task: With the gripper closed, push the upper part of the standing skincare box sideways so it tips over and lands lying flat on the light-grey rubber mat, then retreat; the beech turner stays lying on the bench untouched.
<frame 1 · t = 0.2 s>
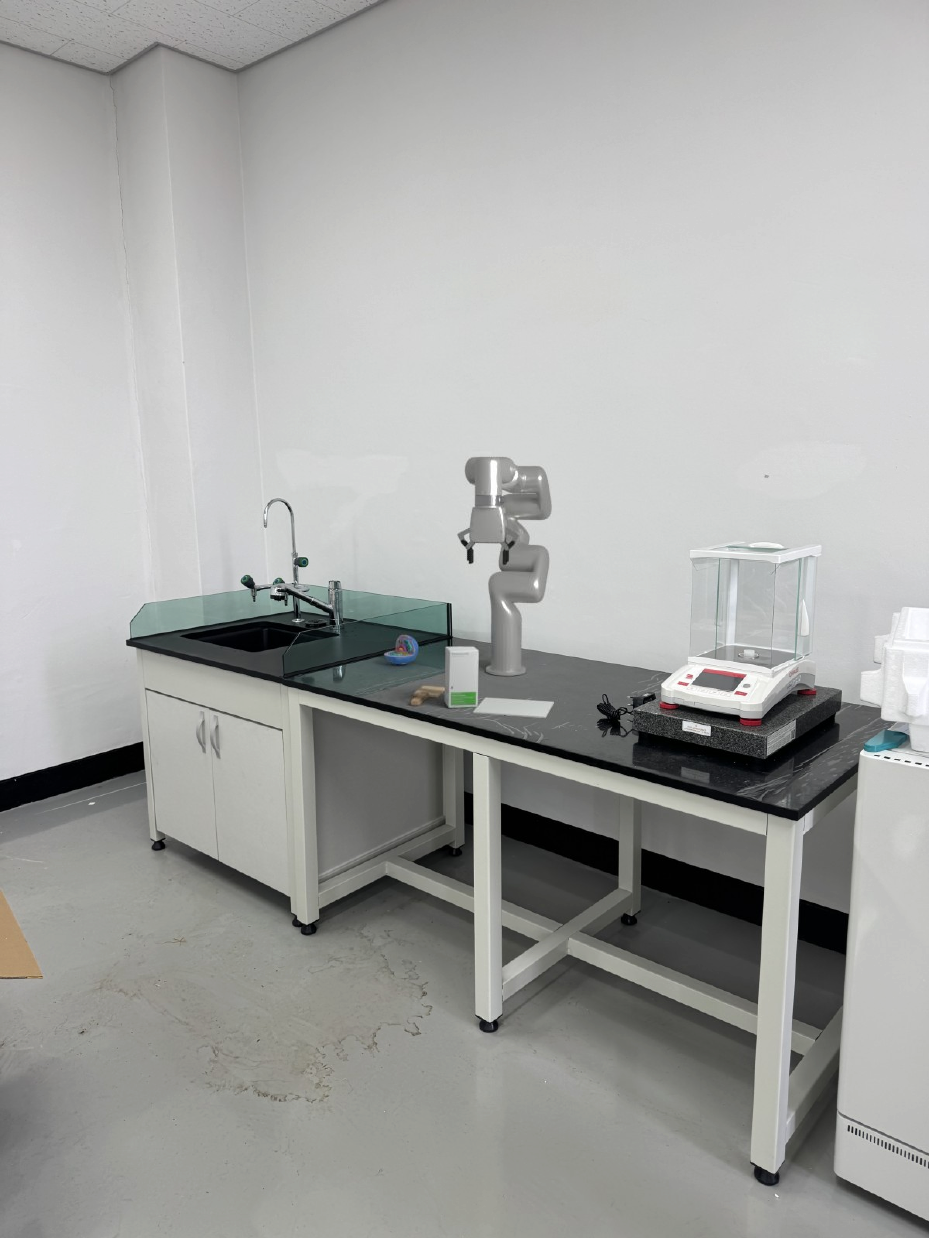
hand: (487, 564, 243), 37 cm above the table, tool pointing down, fingers open, 9 cm apart
cell model: (401, 665, 283), on the table
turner: (426, 695, 244), on the table
skincare box: (461, 705, 235), on the table
mat: (514, 708, 231), on the table
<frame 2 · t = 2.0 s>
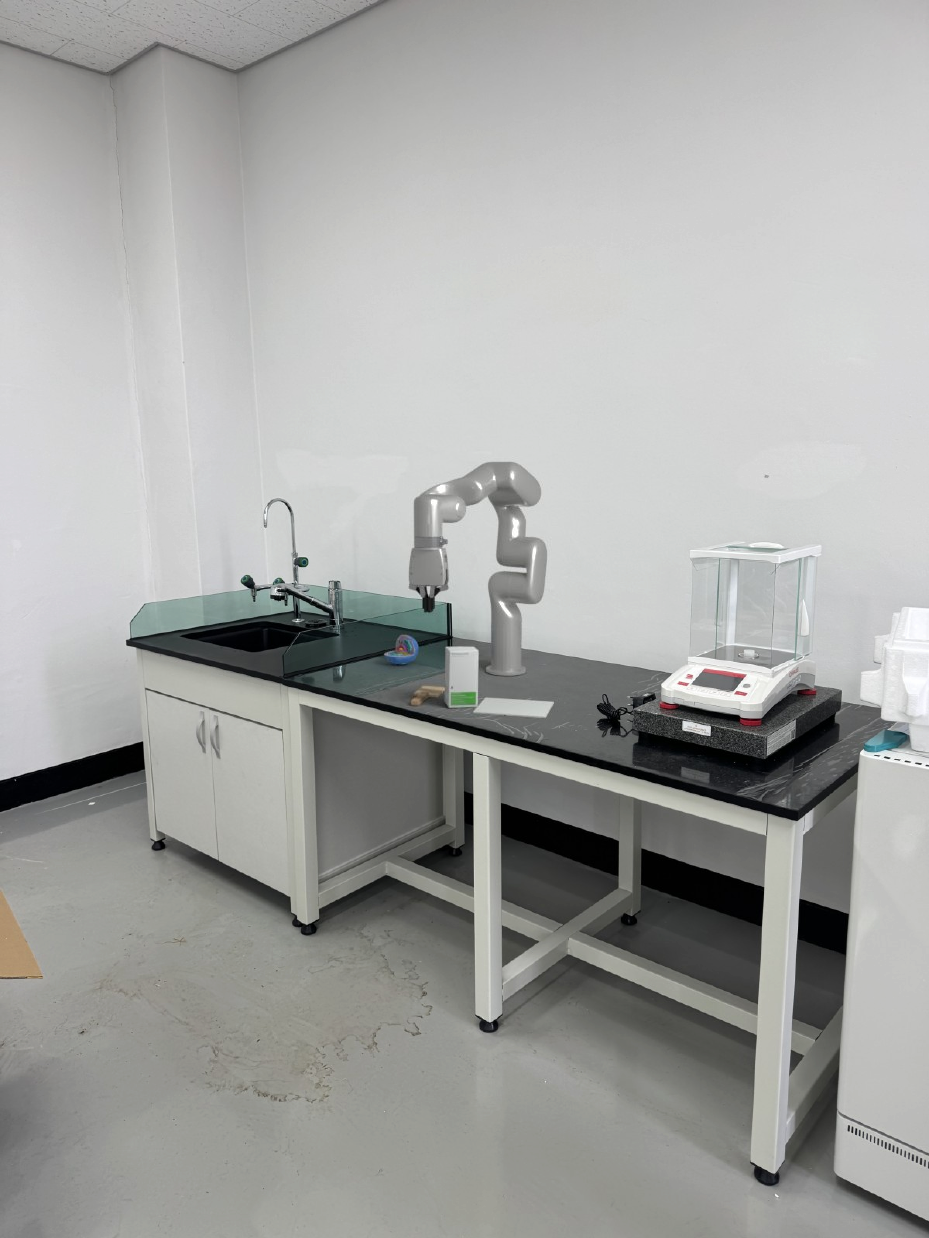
hand: (428, 611, 232), 25 cm above the table, tool pointing down, fingers closed
nothing on the table moved.
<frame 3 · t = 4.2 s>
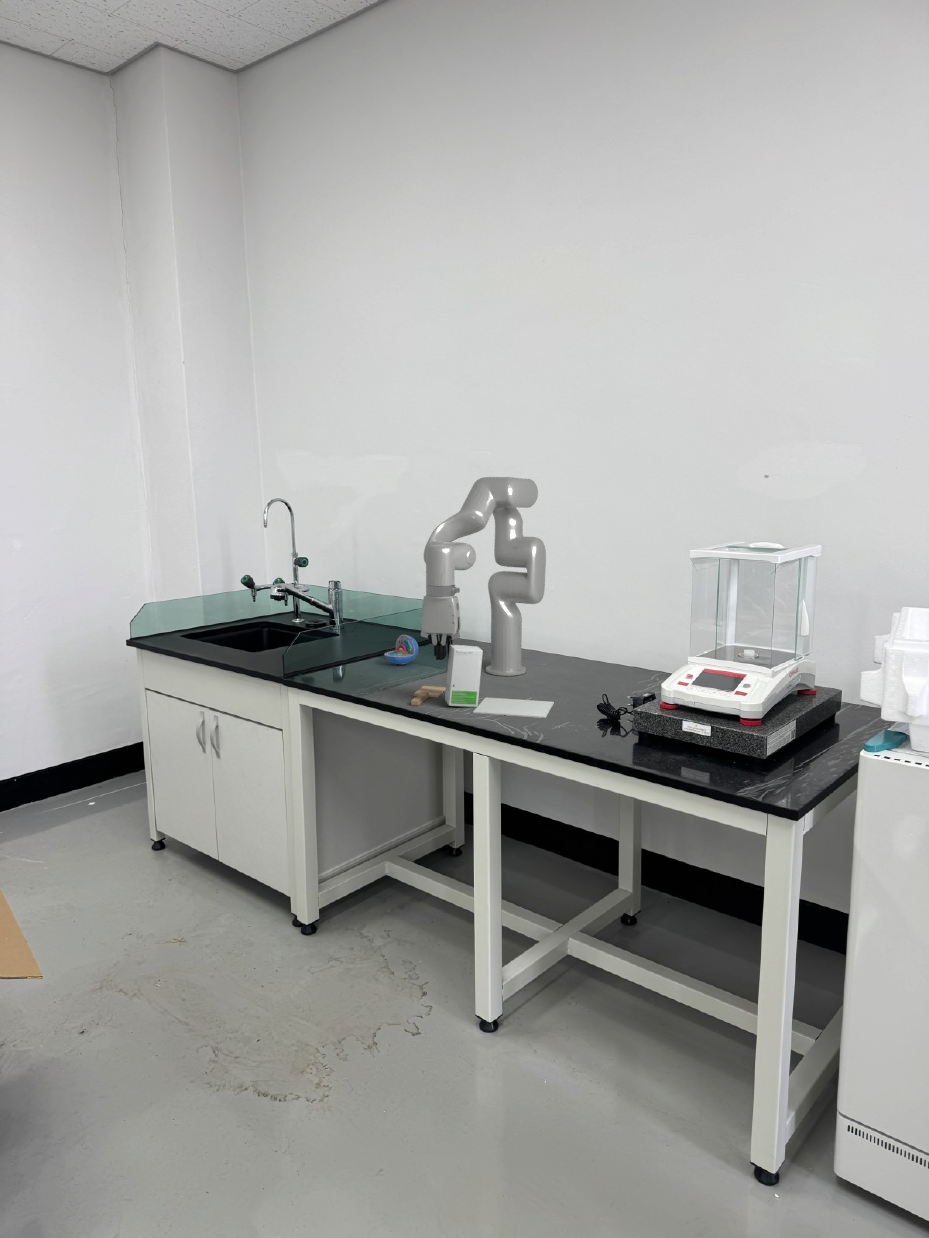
hand: (440, 658, 234), 12 cm above the table, tool pointing down, fingers closed
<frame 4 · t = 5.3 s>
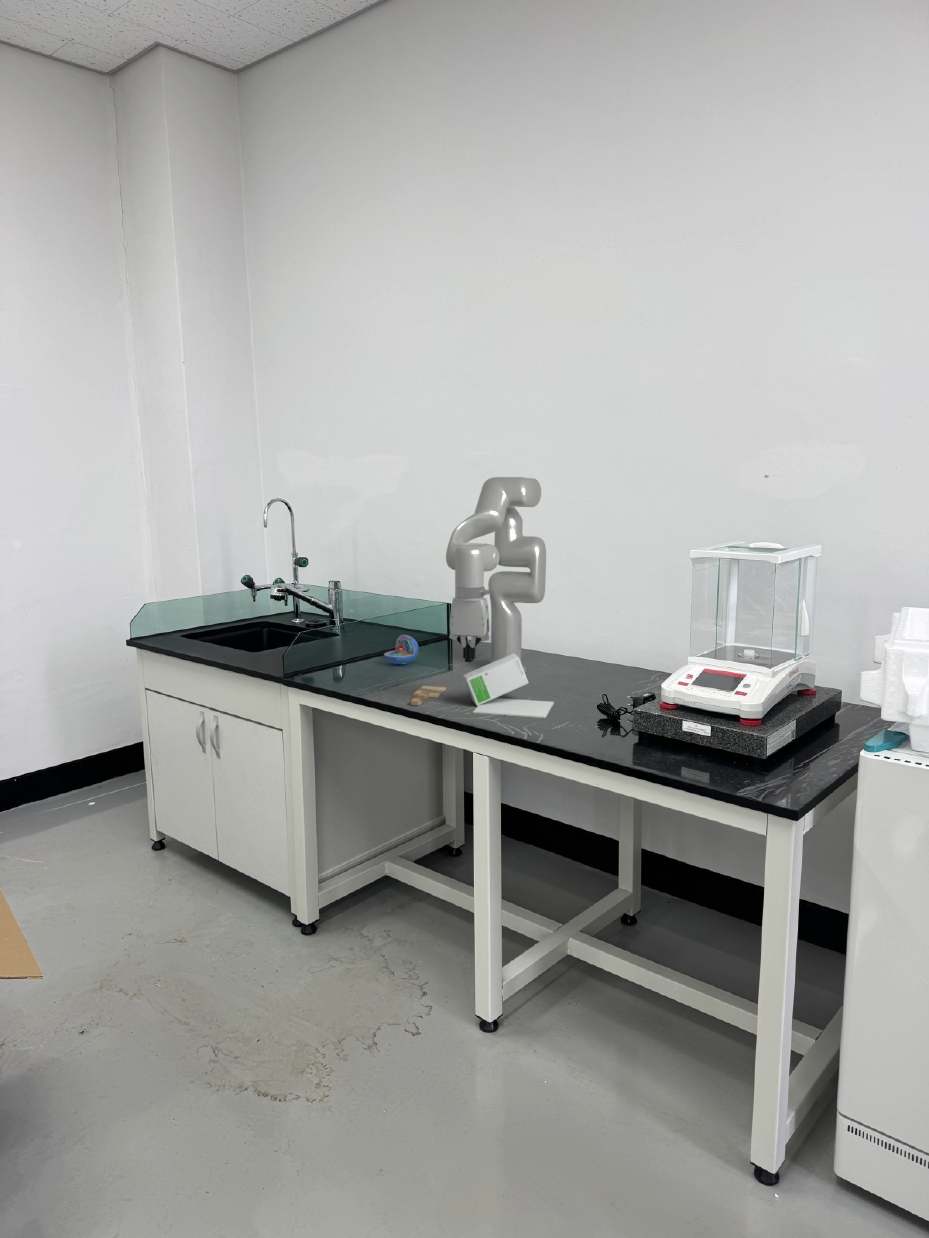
hand: (469, 661, 232), 12 cm above the table, tool pointing down, fingers closed
skincare box: (468, 691, 235), point 4 cm above the table
everything else where it was.
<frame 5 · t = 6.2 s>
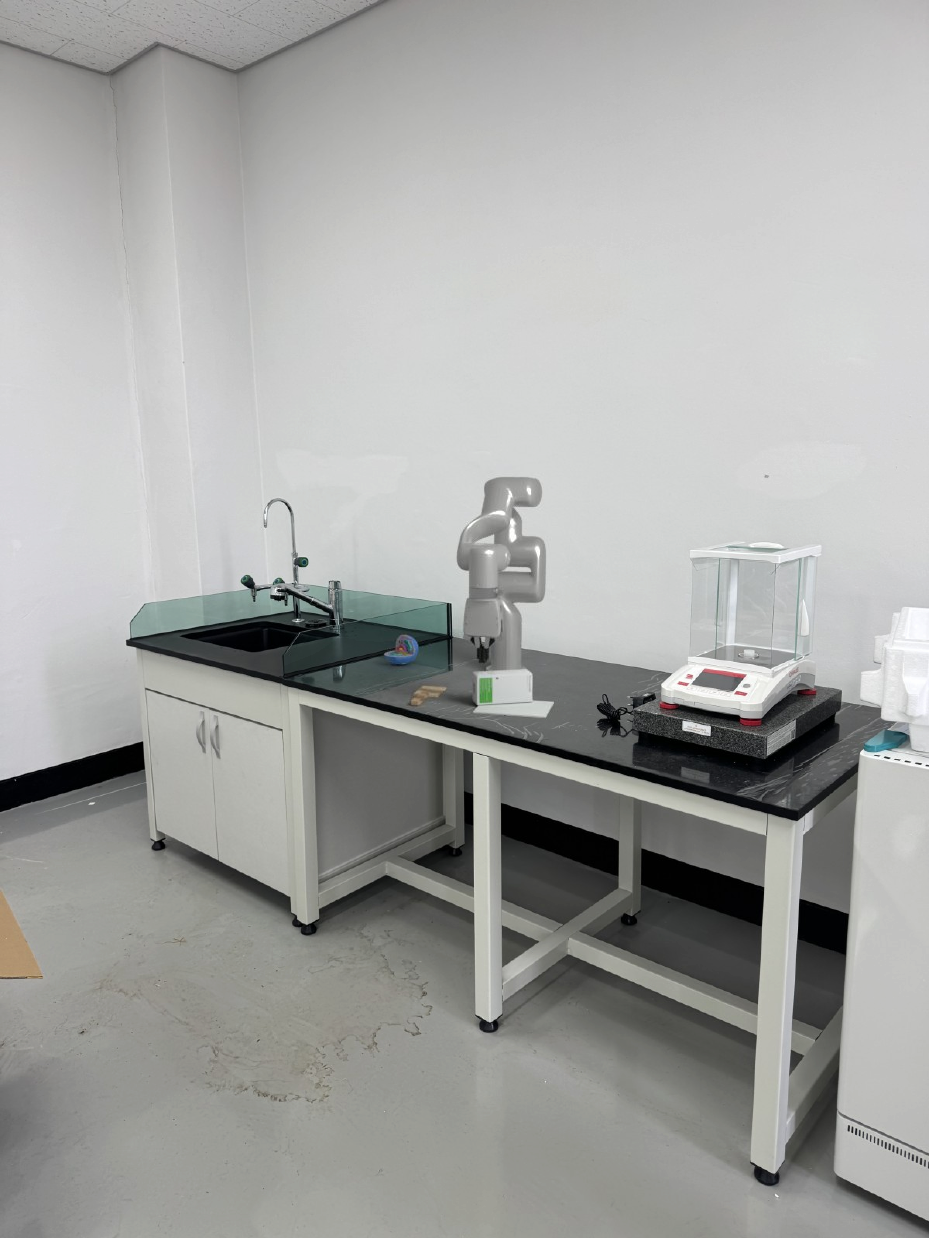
hand: (482, 661, 231), 12 cm above the table, tool pointing down, fingers closed
skincare box: (473, 688, 234), point 4 cm above the table, touching mat
everything else where it was.
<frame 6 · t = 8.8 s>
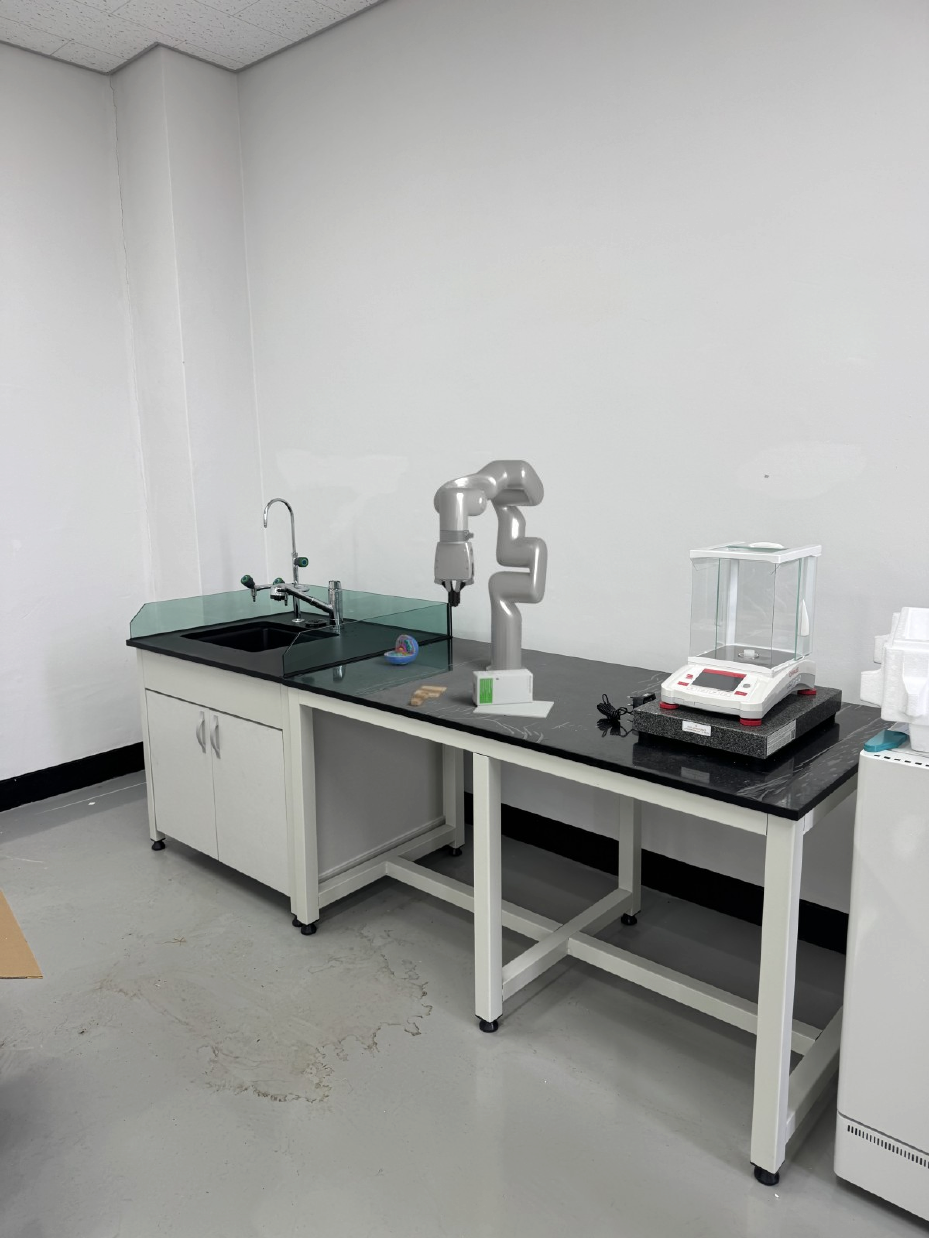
hand: (454, 606, 231), 27 cm above the table, tool pointing down, fingers closed
nothing on the table moved.
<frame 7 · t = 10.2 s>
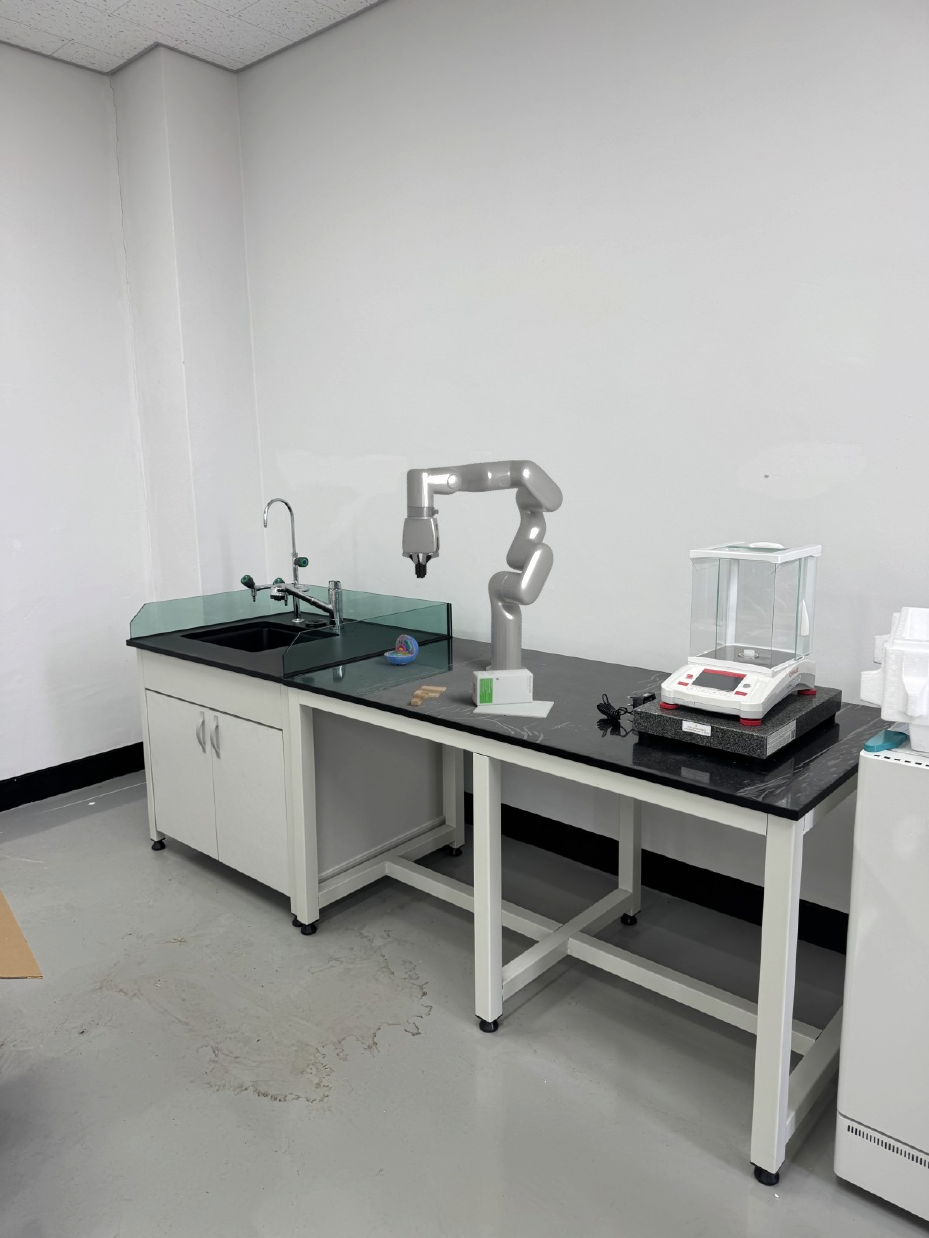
hand: (420, 577, 248), 32 cm above the table, tool pointing down, fingers closed
nothing on the table moved.
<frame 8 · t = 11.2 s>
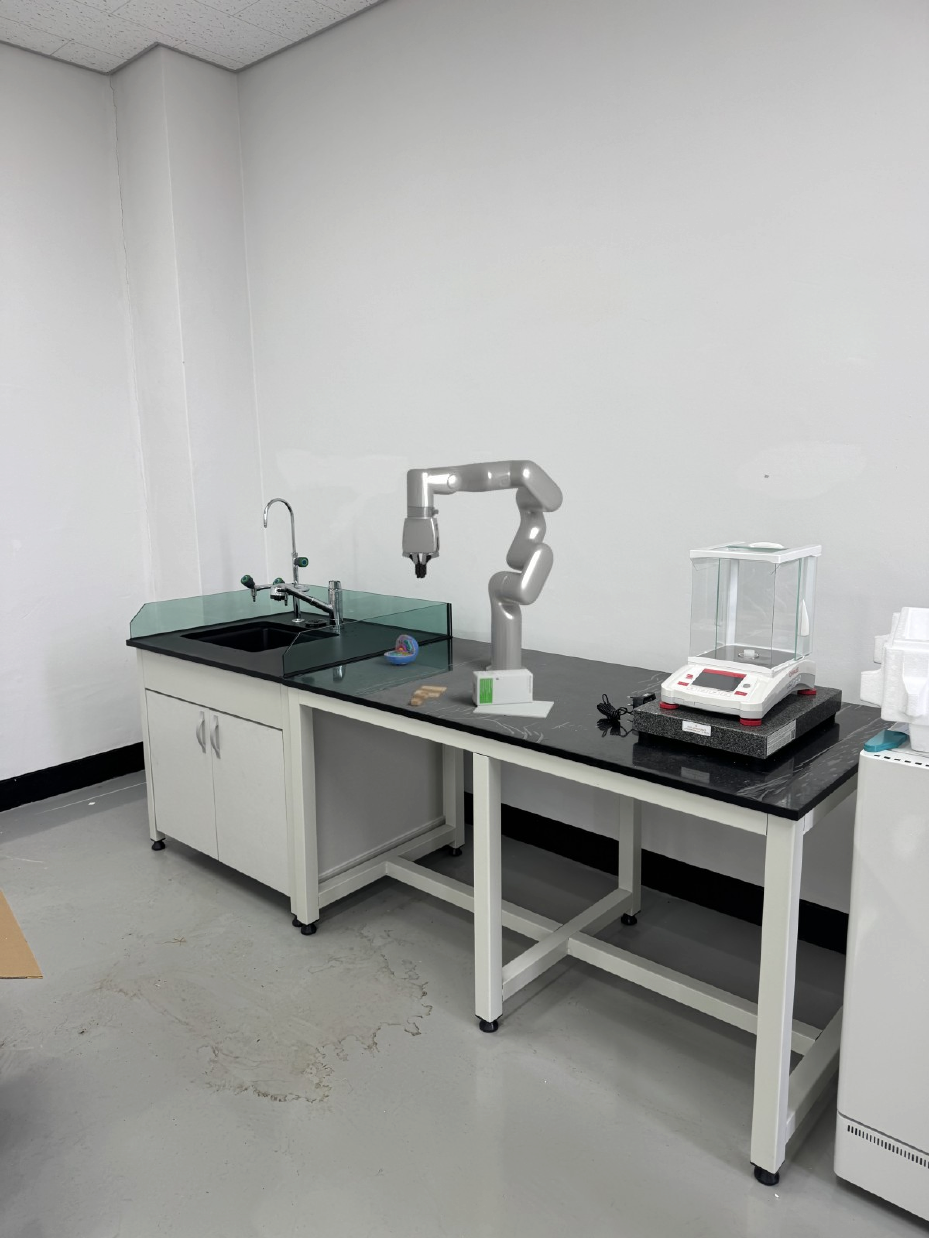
hand: (420, 577, 248), 32 cm above the table, tool pointing down, fingers closed
nothing on the table moved.
at the end: skincare box tilted 89°; skincare box inside the target area (8.5 cm from its centre), point 4.3 cm above the table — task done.
